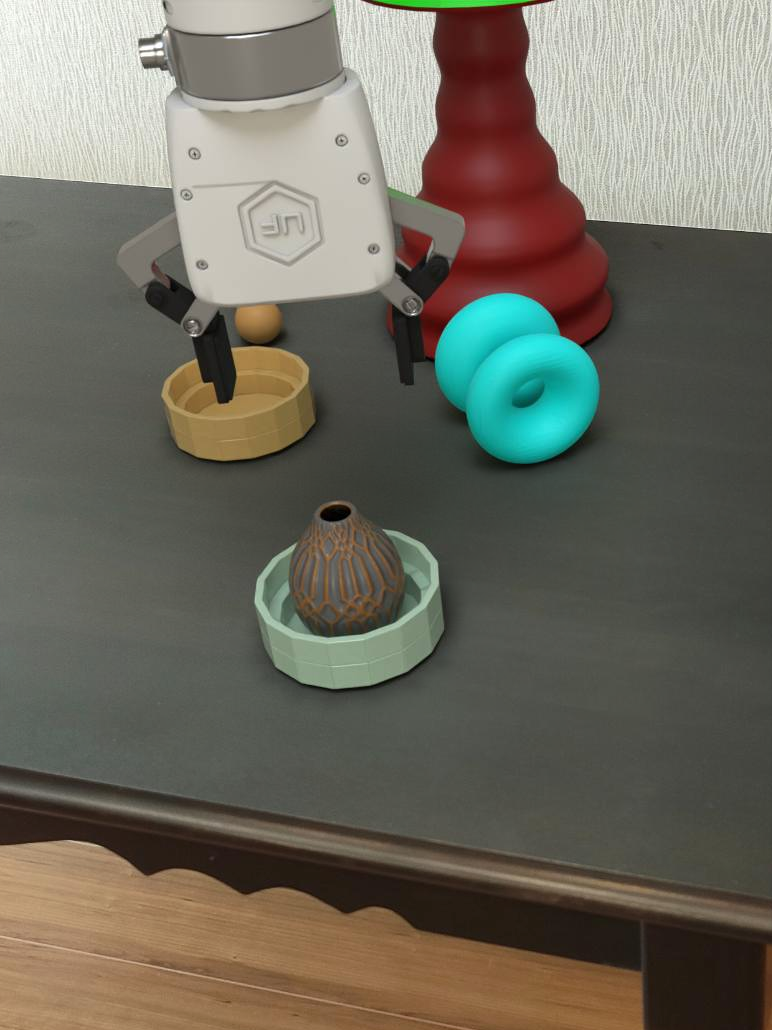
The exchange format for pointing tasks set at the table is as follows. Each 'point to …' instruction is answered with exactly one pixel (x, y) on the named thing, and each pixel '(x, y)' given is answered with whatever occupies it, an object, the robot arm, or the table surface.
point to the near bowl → (356, 654)
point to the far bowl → (242, 406)
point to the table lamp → (500, 179)
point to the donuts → (516, 378)
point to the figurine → (258, 323)
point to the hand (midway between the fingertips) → (318, 382)
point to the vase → (345, 574)
